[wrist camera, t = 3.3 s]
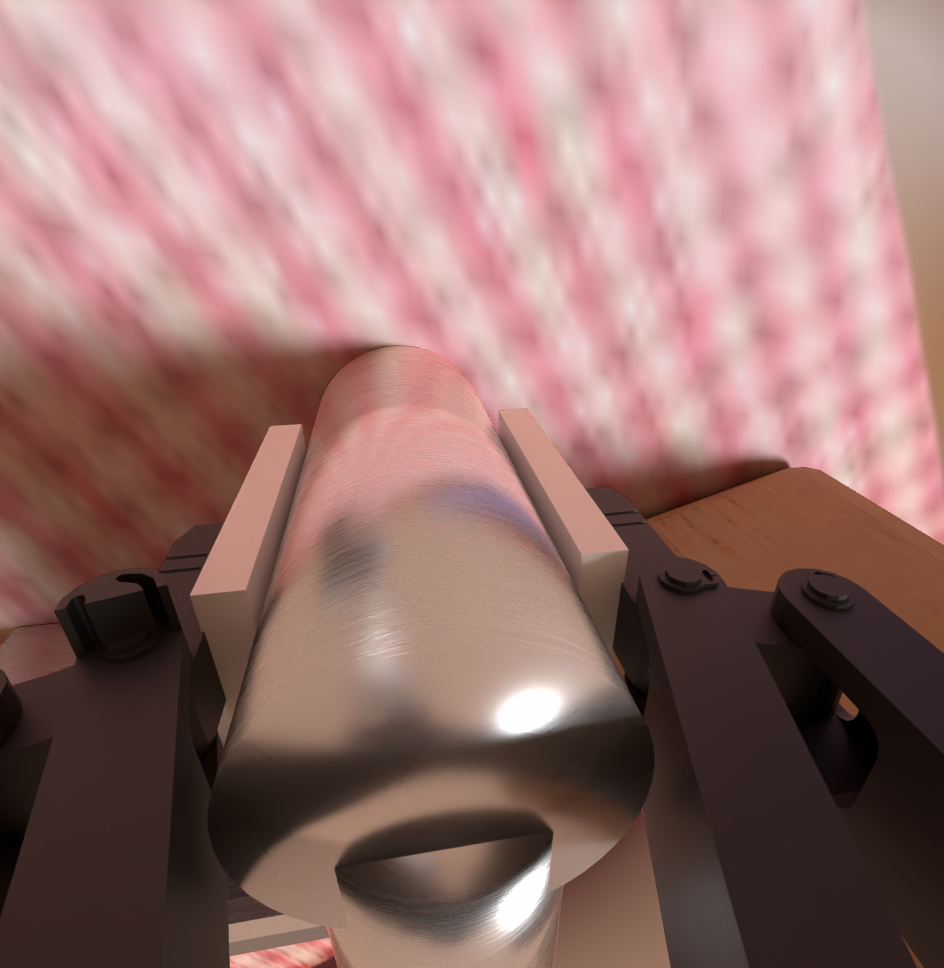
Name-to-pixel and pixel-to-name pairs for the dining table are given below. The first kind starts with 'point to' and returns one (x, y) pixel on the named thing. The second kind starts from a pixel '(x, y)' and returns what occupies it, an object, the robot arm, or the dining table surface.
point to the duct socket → (247, 917)
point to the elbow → (423, 694)
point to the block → (812, 546)
